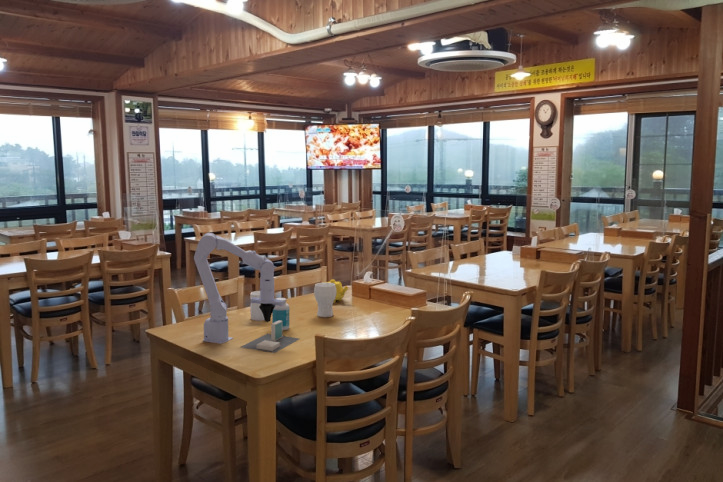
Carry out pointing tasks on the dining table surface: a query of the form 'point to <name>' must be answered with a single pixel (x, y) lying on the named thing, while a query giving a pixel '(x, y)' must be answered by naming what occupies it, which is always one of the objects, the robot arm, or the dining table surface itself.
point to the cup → (325, 298)
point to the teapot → (339, 290)
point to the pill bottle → (281, 314)
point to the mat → (283, 341)
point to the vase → (256, 307)
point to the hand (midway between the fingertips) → (267, 321)
